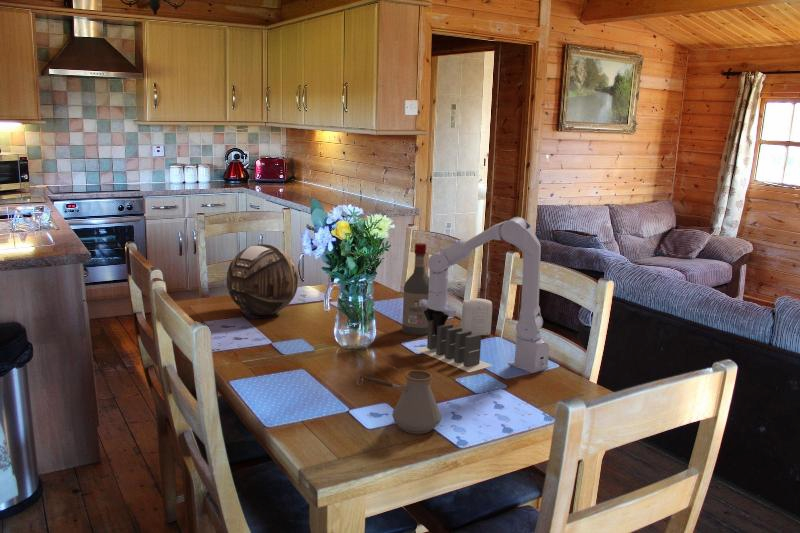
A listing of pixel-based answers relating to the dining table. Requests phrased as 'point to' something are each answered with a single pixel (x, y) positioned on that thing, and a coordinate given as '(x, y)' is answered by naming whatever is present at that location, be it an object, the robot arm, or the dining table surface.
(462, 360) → the domino
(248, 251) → the sphere
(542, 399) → the dining table surface
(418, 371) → the coffee pot
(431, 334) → the domino
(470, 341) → the domino
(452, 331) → the domino
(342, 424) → the dining table surface
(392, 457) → the dining table surface
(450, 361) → the domino board
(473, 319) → the cream rounded block
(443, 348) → the domino
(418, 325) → the liquor
